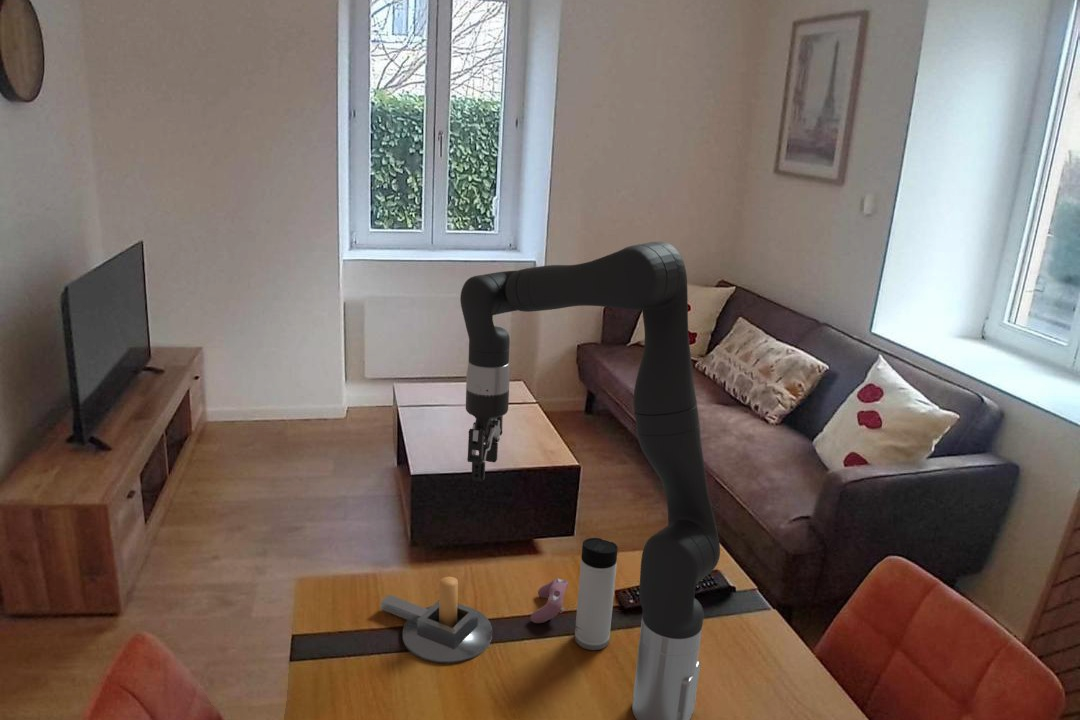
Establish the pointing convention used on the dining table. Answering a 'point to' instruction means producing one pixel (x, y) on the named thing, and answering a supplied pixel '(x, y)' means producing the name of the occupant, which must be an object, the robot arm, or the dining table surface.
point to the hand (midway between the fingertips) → (484, 470)
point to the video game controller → (550, 601)
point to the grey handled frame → (441, 631)
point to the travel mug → (595, 593)
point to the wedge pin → (448, 601)
